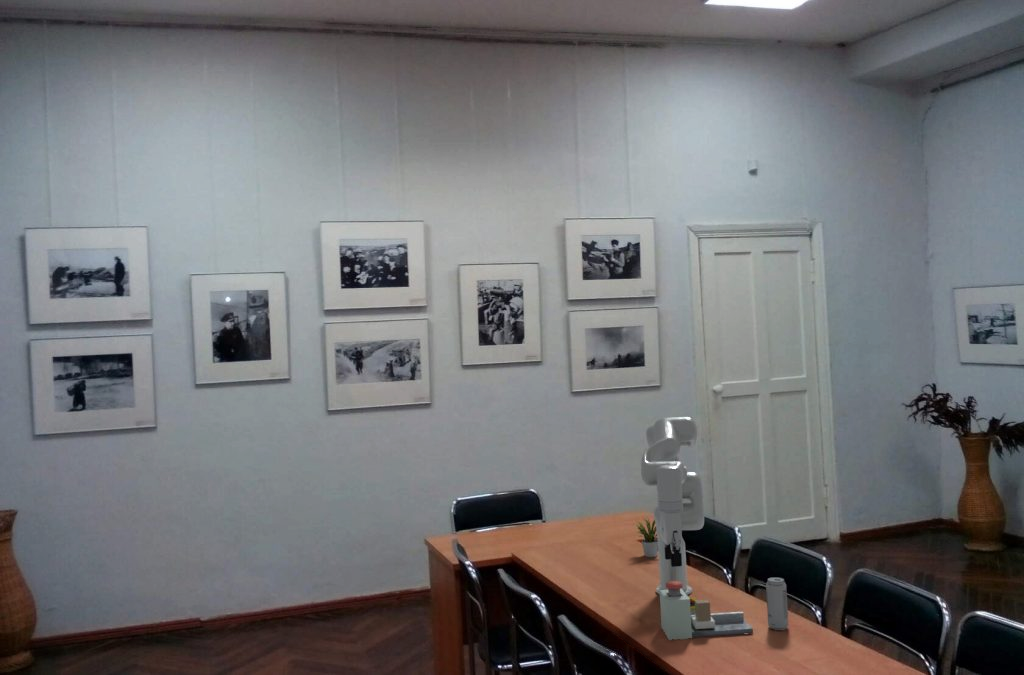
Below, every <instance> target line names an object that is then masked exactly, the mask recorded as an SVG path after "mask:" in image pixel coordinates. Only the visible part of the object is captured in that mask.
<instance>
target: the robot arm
mask: <svg viewBox="0 0 1024 675" xmlns="http://www.w3.org/2000/svg"><path fill="white" fill-rule="evenodd" d="M645 436H646V441H647V444H648V448H647V449H645V451H644V452H643V454H642V456H641V461H640V476H641V480H642V483H643V484H645V485H647V486H649V487H650V486H653V487H655V486H656V492H657V505H656V507H654V511H653V518H654V519H653V520H655V526H656V529H657V530H656V534H657V536H656V537H657V540H658V567H659V585H658V586H657V587H656V588H655V591H656V593H657V594H658V595H660V590H668V588H666V586H665V583H666V582H669V581H678V582H682V585H683V587H682V588H680V589H682V590H683V591H684V592H685V594H686V595H687V596H688V595H691V594H692V593H693V588H692V587H691V586H689V585H688V577H687V573H688V572H687V555H686V554H687V553H686V542H685V540H684V538H683V534H682V533H683V531H698V530H701V529H703V528H704V525H705V510H704V508H705V507H704V496H703V482H702V479H701V477H700V475H699V474H698V473H697V472H692V471H688V469H687V467H686V466H685V464H684V463H683V462H682V461H680V458H679V456H678V455H679V453H680V450H681V449H682V448H685V449H686V448H687V449H688V448H693V447H694V446H695V445H696V444H697V436H698V428H697V424H696V422H695V421H694V419H693V418H691V417H689V416H675V417H674V416H672V417H662V418H659V419H658V420H656V421H655V423H654V424H653V425H651V426H649V427H648V428H647V429H646V432H645ZM683 500H689V501H690V502H684V501H683Z"/></svg>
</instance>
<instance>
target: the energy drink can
mask: <svg viewBox="0 0 1024 675" xmlns="http://www.w3.org/2000/svg"><path fill="white" fill-rule="evenodd" d="M765 589H766V590H765V591H766V612H767V625H768V626H769V628H770V629H771V628H772V629H775V630H774V631H776V630H783V631H786V630H787V628H788V627H789V612H788V611H789V609H788V595H787V594H788V592H787V584H786V582H785V579H784V578H782V577H774V576H773V577H769V578H767V582H766V584H765ZM772 629H771V630H772ZM785 629H786V630H785Z"/></svg>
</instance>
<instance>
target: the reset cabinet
mask: <svg viewBox="0 0 1024 675" xmlns="http://www.w3.org/2000/svg"><path fill="white" fill-rule="evenodd" d="M689 598H690V597H689V596H688V595H686V594H685V592H684V591H683V590H682V589H680V596H678V597H669V593H668V590H660V594H659V603H660V604H659V605H660V606H659V607H660V622H661V623H660V624H661V630H662V629H663V630H664V631H663V630H662V631H663V633H664V632H665V633H664V634H665V636H666V635H667V636H666V637H668V638H667V639H668V641H673V640H672V639H680V640H688V639H687V638H692V629H691V610H690V599H689ZM685 638H686V639H685Z"/></svg>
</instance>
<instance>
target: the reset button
mask: <svg viewBox="0 0 1024 675" xmlns="http://www.w3.org/2000/svg"><path fill="white" fill-rule="evenodd" d="M665 586H666V588H668V593H669V597H678V596H680V588H682V587H683V585H682V582H678V581H669V582H666V583H665Z"/></svg>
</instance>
